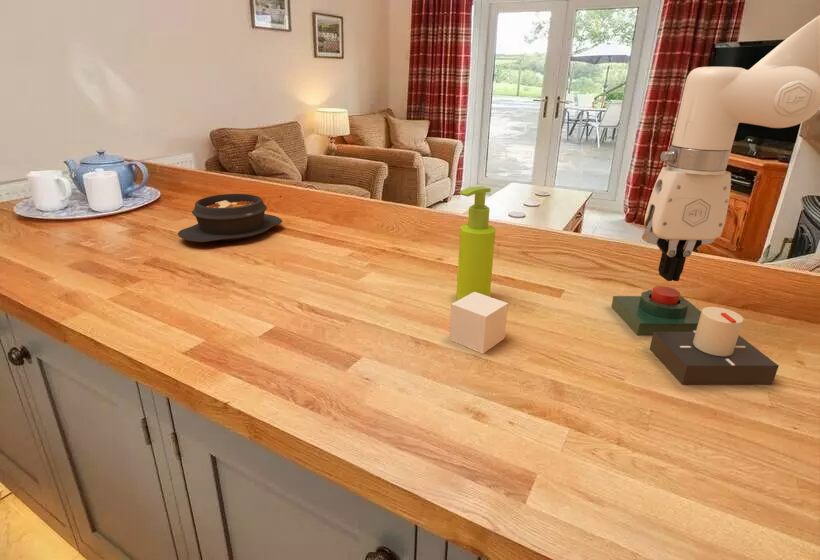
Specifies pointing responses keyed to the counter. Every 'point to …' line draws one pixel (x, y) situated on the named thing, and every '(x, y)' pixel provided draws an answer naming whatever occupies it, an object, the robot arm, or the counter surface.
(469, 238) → the soap dispenser
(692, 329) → the button base
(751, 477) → the counter surface
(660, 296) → the press top
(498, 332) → the pale pink cube
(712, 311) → the lock knob
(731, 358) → the dial panel
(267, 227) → the casserole
